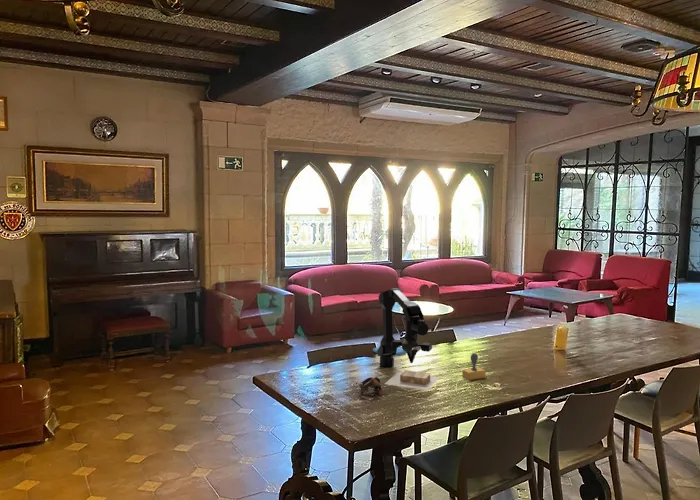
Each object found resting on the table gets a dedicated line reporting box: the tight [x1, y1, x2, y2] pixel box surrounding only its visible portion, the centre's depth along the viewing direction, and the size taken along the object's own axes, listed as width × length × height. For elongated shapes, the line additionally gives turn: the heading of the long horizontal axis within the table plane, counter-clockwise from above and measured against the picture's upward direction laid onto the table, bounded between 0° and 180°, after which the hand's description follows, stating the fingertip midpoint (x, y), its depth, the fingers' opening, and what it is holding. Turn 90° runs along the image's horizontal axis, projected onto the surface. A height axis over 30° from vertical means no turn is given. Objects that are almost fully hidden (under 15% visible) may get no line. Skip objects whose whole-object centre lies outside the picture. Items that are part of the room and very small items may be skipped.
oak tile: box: [400, 370, 431, 385], centre depth 251 cm, size 3×8×12 cm
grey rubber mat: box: [384, 371, 440, 391], centre depth 252 cm, size 21×20×1 cm
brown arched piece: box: [359, 376, 384, 397], centre depth 236 cm, size 12×10×8 cm
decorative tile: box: [372, 346, 407, 357], centre depth 302 cm, size 14×14×2 cm
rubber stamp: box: [461, 352, 487, 381], centre depth 258 cm, size 10×6×12 cm, turn 112°
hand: (411, 363), depth 251 cm, fingers closed
